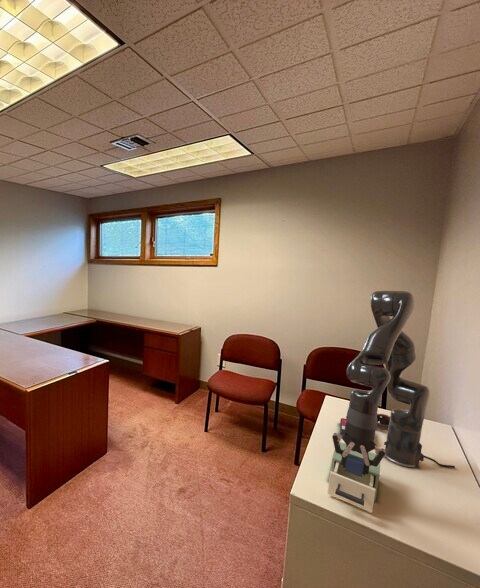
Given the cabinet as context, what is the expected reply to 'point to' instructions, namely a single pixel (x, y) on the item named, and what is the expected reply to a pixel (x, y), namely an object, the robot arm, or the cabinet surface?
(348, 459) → the block
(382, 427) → the pottery mug
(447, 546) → the cabinet surface
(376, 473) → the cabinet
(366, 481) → the drawer
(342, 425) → the red and grey box
